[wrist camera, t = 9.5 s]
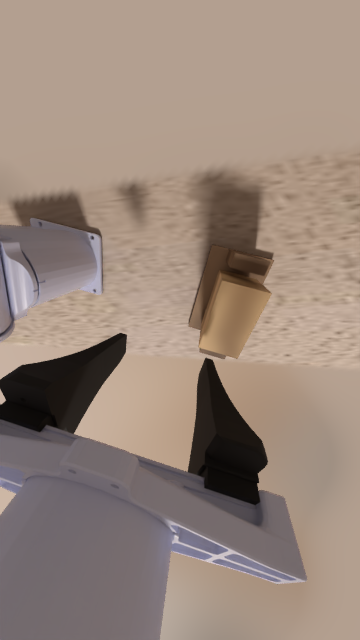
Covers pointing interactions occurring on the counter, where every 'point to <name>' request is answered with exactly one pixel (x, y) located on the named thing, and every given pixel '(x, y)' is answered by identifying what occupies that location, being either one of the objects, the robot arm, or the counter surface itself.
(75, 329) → the counter surface
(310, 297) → the counter surface
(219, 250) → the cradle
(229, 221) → the counter surface
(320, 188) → the counter surface
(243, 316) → the block
